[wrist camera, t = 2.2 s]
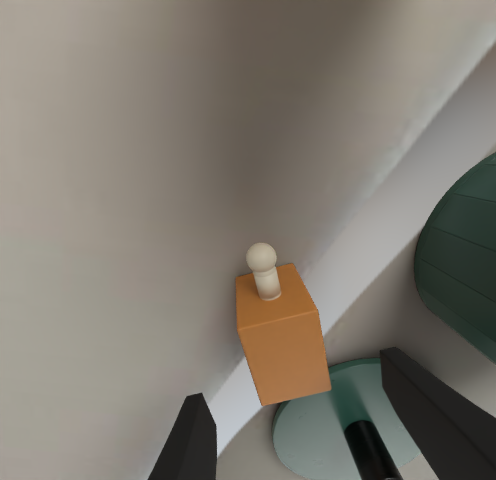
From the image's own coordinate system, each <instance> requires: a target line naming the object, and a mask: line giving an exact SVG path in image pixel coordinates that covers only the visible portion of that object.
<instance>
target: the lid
mask: <svg viewBox="0 0 496 480" xmlns="http://www.w3.org/2000/svg"><path fill="white" fill-rule="evenodd" d="M328 371H329V377H330V382H331V390H330V391H326V392H321V393H317V394H313V395H308V396H304V397H300V398H295V399H291V400H287V401H283V402H282V404H281V405H280V407H279V409H278V410H277V412H276V415H275V418H274V421H273V426H272V439H273V444H274V449H275V451H276V454H277V456H278V457H279V459H280V460H281V462H282V463H283V464H284V465H285V466H286V467H287V468H289V469H290V470H291V471H293V472H294V473H296V474H298V475H300V476H302V477H305V478H308V479H311V480H403V478H402V476H401V475H400V473H399V471H398V469H397V468H399V467H401V466H403V465H405V464H406V463H408V462H410V461H411V460H413V459H414V458H415V457H417V456H418V455H419V454H420V453H421V451H420V450H419V448H418V447H417V445H416V444H415V442H414V441H413V439H412V437H411V436H410V434H409V433H408V431H407V430H406V428H405V427H404V425H403V424H402V422H401V421H400V419H399V418H398V416H397V414H396V412H395V410H394V409H393V407H392V405H391V403H390V401H389V399H388V397H387V395H386V393H385V392H384V390H383V388H382V376H381V362H380V358H367V359H358V360H353V361H348V362H344V363H341V364H337V365H334V366H332V367H329V368H328Z"/></svg>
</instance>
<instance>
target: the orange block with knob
mask: <svg viewBox="0 0 496 480" xmlns="http://www.w3.org/2000/svg"><path fill="white" fill-rule="evenodd" d="M246 260H247V264H248V266H249V267H250V268H251V269H252V270H253V273H251V274H247V275H242V276H238V277H236V313H237V332H238V335H239V338H240V341H241V344H242V347H243V350H244V353H245V356H246V360H247V362H248V366H249V369H250V372H251V375H252V378H253V381H254V384H255V387H256V390H257V393H258V396H259V400H260V402H261V405H262V406H265V405H270V404H274V403H278V402H283V401H287V400H291V399H295V398H300V397H304V396H308V395H313V394H317V393H321V392H326V391H330V390H331V382H330V377H329V371H328V365H327V359H326V353H325V348H324V342H323V336H322V331H321V325H320V319H319V313H318V309H317V308H316V306H315V304H314V302H313V300H312V298H311V296H310V294H309V293H308V291H307V289H306V287H305V285H304V283H303V281H302V279H301V277H300V276H299V274H298V272H297V270H296V268H295V266H294V264H293V263H291V264H287V265H283V266H279V267H275V264H276V260H277V256H276V252H275V250H274V249H273V248H272V247H271V246H270V245H269V244H266V243H256V244H254V245H253V246H251V247H250V248H249V250H248V252H247V255H246Z"/></svg>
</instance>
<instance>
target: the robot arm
mask: <svg viewBox="0 0 496 480" xmlns="http://www.w3.org/2000/svg"><path fill="white" fill-rule="evenodd" d="M380 362H381V376H382V388H383V390H384V392H385V393H386V395H387V397H388V399H389V401H390V403H391V405H392V407H393V409H394V410H395V412H396V414H397V416H398V418H399V419H400V421H401V422H402V424H403V425H404V427H405V428H406V430H407V431H408V433H409V434H410V436H411V437H412V439H413V441H414V442H415V444H416V445H417V447H418V448H419V450H420V451H421V453H422V454H423V456H424V457H425V459H426V460H427V462H428V463H429V465H430V466H431V468H432V469H433V471H434V472H435V474H436V475H437V477H438V478H439V480H496V418H495V417H493V416H492V415H490V414H489V413H487V412H486V411H484V410H482V409H481V408H479V407H478V406H476V405H475V404H473V403H472V402H471V401H469V400H468V399H466V398H465V397H463V396H462V395H460V394H459V393H458V392H456V391H455V390H453V389H452V388H450V387H449V386H448V385H446V384H445V383H443V382H442V381H441V380H439V379H438V378H436V377H435V376H434V375H432V374H431V373H430V372H428V371H427V370H426V369H424V368H423V367H422V366H420V365H419V364H418V363H416V362H415V361H414V360H412V359H411V358H410V357H408V356H407V355H406V354H404V353H403V352H402V351H401V350H399V349H398V348H396V347H392V348H388V349H384V350H380ZM216 464H217V434H216V424H215V422H214V420H213V417H212V415H211V413H210V410H209V408H208V406H207V404H206V401H205V399H204V397H203V394H202V393H198V394H194V395H190V396H187V397H186V398H185V401H184V403H183V405H182V408H181V410H180V412H179V414H178V417H177V419H176V421H175V424H174V426H173V428H172V430H171V432H170V435H169V437H168V439H167V441H166V443H165V445H164V447H163V449H162V452H161V454H160V456H159V458H158V460H157V462H156V464H155V466H154V468H153V470H152V472H151V474H150V476H149V478H148V480H215V478H216Z"/></svg>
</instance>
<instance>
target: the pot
mask: <svg viewBox="0 0 496 480" xmlns="http://www.w3.org/2000/svg"><path fill="white" fill-rule="evenodd" d="M414 273H415V281H416V285H417V289H418V292H419V294H420V296H421V298H422V300H423V301H424V303H425V304H426V306H427V307H428V308H429V309H430V310H431V311H432V312H433V313H434V314H435V315H436V316H438V317H439V318H440V319H441V320H442V321H443V322H444V323H446V324H447V325H448V326H449V327H450V328H452V329H453V330H454V331H455V332H456V333H458V334H459V335H460V336H461V337H463V338H464V339H465V340H466V341H467V342H469V343H470V344H471V345H472V346H474V347H475V348H476V349H477V350H478V351H480V352H481V353H482V354H483V355H484V356H486V357H487V358H488V359H489V360H491V361H492V362H493V363H494V364H495V365H496V152H495V153H494V154H492V155H490V156H489V157H487V158H485V159H484V160H482V161H481V162H479V163H478V164H477V165H475V166H474V167H472V168H471V169H470V170H469V171H468V172H466V173H465V174H464V175H463V176H462V177H461V178H460V179H459V180H457V181H456V182H455V184H454V185H453V186H452V187H451V188H450V189H449V190H448V191H447V192H446V193H445V195H444V196H443V197H442V199H441V200H440V201H439V202H438V204H437V205H436V207H435V208H434V210H433V212H432V213H431V215H430V216H429V218H428V220H427V222H426V224H425V226H424V228H423V230H422V233H421V236H420V239H419V242H418V245H417V249H416V254H415V263H414Z"/></svg>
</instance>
